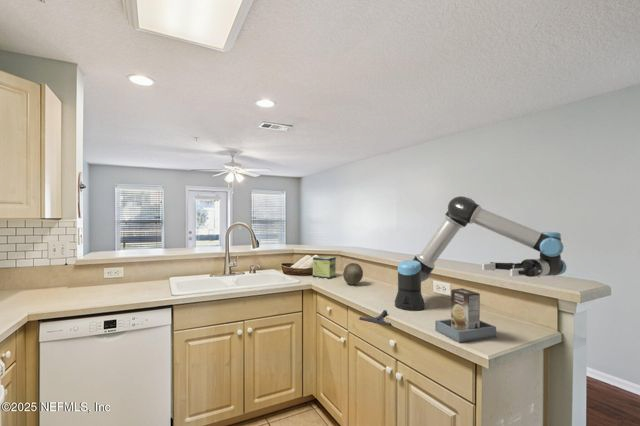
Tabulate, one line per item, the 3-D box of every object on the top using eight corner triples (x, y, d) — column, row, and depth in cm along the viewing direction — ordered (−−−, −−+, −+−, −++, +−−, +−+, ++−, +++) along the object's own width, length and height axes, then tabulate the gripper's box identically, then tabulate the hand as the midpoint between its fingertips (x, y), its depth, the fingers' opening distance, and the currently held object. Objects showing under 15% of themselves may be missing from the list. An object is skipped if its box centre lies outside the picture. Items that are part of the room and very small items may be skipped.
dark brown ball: (339, 285, 207) (339, 263, 207) (348, 282, 219) (348, 261, 219) (358, 288, 199) (358, 265, 200) (366, 284, 211) (366, 262, 212)
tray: (435, 330, 124) (435, 320, 124) (470, 325, 130) (470, 316, 130) (458, 342, 112) (458, 332, 112) (496, 337, 117) (496, 326, 117)
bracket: (400, 318, 142) (400, 312, 142) (389, 327, 129) (389, 320, 129) (372, 312, 149) (372, 307, 150) (359, 321, 137) (359, 315, 137)
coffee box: (450, 328, 124) (450, 289, 124) (462, 326, 126) (462, 287, 126) (468, 336, 115) (468, 294, 115) (480, 334, 117) (480, 293, 118)
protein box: (329, 279, 229) (329, 258, 229) (312, 277, 237) (312, 257, 237) (336, 277, 238) (336, 257, 238) (319, 275, 246) (319, 256, 246)
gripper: (564, 282, 120) (524, 285, 113) (508, 271, 144) (472, 273, 137) (564, 263, 120) (524, 265, 114) (508, 255, 144) (472, 256, 137)
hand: (496, 269), depth 125 cm, fingers open, 13 cm apart
